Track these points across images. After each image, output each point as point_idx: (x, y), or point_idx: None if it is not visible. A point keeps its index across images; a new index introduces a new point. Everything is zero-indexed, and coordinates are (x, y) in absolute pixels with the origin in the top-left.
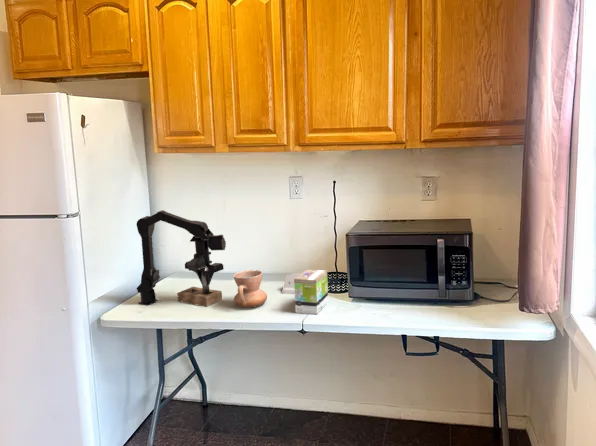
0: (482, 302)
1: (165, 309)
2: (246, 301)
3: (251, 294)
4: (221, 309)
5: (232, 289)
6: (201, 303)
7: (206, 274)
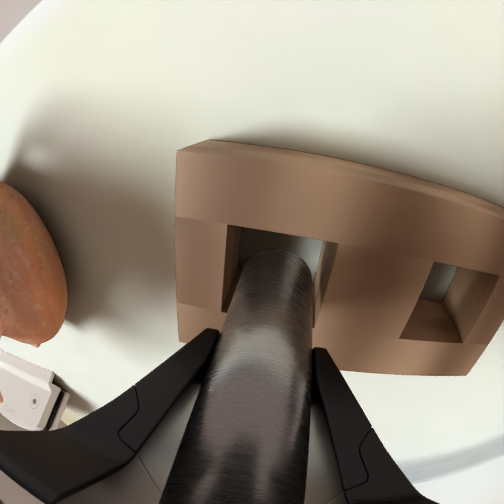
0: None
1: (494, 31)
2: None
3: None
4: (78, 131)
5: None
6: (270, 149)
7: (87, 448)
